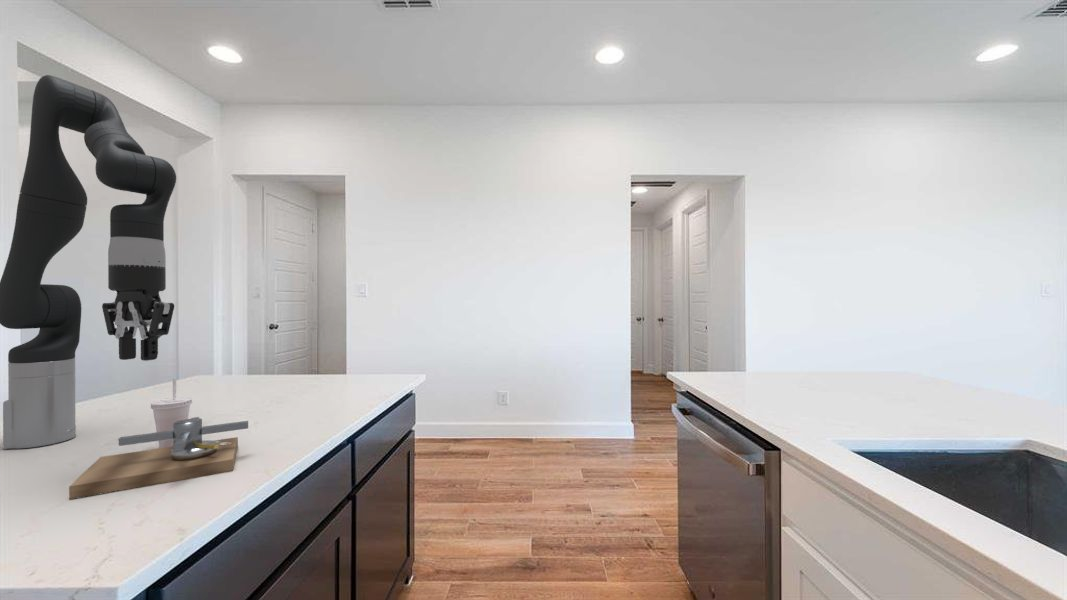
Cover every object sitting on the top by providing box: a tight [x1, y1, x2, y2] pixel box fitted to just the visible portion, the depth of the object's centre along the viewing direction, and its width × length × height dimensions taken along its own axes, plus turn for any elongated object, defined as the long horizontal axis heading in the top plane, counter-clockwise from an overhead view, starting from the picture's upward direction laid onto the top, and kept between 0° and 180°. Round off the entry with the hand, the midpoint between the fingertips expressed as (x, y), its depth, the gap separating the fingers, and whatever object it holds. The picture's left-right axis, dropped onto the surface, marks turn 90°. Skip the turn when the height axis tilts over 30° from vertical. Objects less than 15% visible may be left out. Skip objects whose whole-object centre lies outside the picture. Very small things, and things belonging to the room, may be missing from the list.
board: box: [68, 436, 239, 500], centre depth 74 cm, size 20×14×2 cm
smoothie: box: [150, 378, 193, 449], centre depth 85 cm, size 6×6×14 cm
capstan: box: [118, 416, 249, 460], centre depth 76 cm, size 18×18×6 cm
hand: (138, 359), depth 76 cm, fingers open, 4 cm apart
